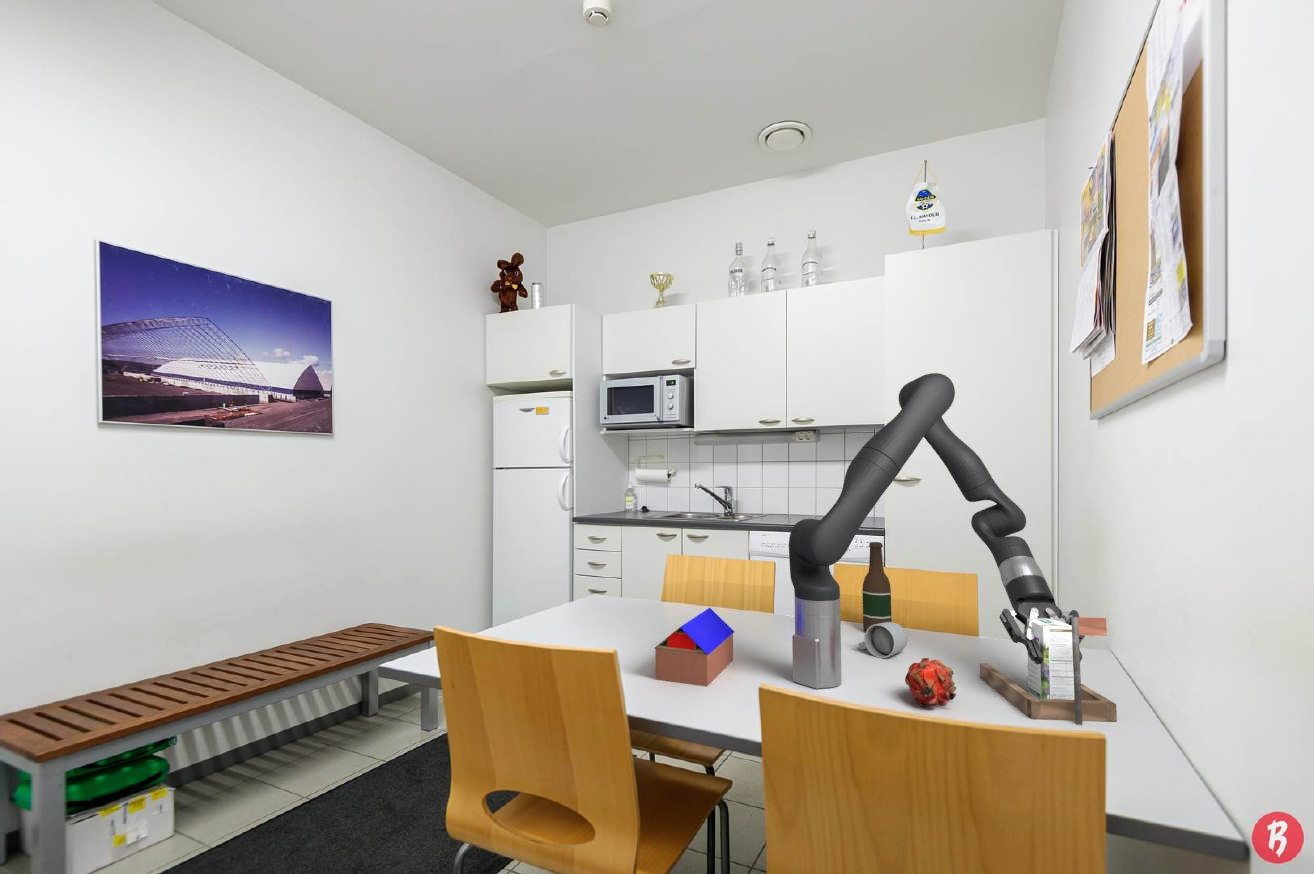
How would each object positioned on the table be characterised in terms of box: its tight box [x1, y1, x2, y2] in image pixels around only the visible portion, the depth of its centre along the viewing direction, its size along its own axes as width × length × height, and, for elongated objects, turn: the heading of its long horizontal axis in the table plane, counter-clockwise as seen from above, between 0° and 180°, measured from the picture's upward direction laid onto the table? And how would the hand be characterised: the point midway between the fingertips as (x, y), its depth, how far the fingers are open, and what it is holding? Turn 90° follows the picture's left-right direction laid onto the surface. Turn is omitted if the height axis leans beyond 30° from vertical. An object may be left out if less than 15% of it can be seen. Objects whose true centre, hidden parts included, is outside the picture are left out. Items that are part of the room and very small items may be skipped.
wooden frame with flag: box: [979, 616, 1118, 726], centre depth 120 cm, size 24×14×18 cm, turn 174°
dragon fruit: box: [904, 657, 957, 708], centre depth 118 cm, size 8×8×12 cm
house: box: [654, 607, 735, 687], centre depth 139 cm, size 12×20×12 cm, turn 157°
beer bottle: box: [862, 541, 893, 634], centre depth 170 cm, size 8×8×24 cm
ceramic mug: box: [858, 621, 909, 659], centre depth 151 cm, size 11×8×8 cm
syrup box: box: [1027, 618, 1074, 700], centre depth 117 cm, size 6×6×14 cm
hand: (1058, 662), depth 114 cm, fingers closed on syrup box, 6 cm apart
